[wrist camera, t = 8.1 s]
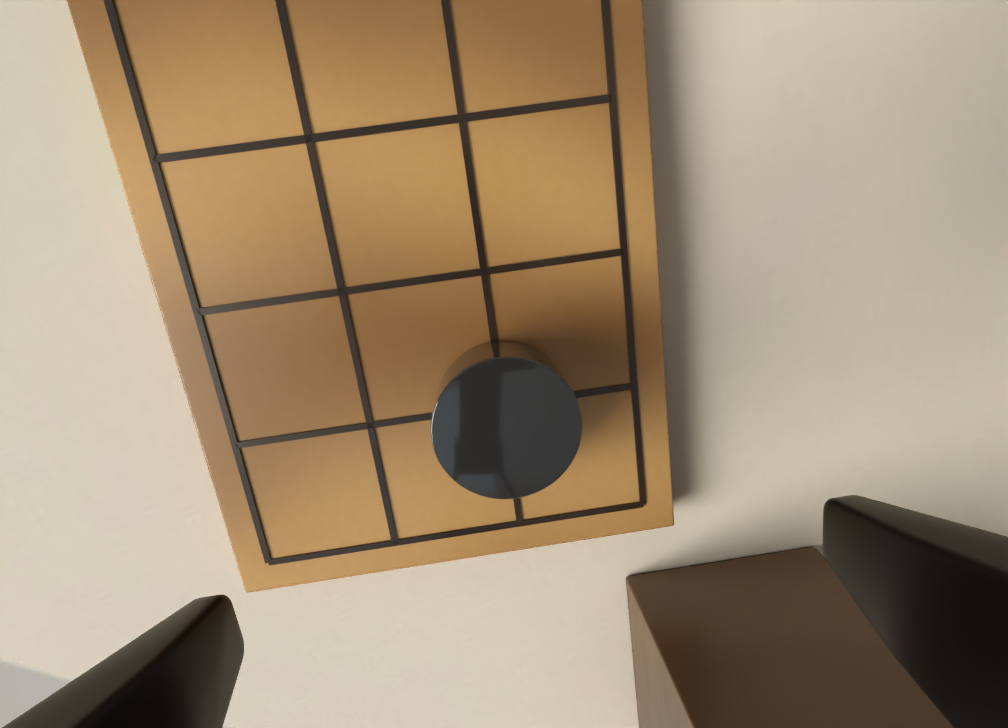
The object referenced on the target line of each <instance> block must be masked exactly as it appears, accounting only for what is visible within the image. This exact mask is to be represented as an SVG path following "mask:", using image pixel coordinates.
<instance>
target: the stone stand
mask: <svg viewBox="0 0 1008 728" xmlns="http://www.w3.org/2000/svg"><path fill="white" fill-rule="evenodd" d="M626 585H627V596H628V608H629V619H630V630H631V642H632V653H633V664H634V675H635V687H636V698H637V709H638V720H639V728H954V727H953V726H952V725H951V724H950V723H949V721H948V720H947V719H946V718H945V717H944V715H943V714H942V713H941V712H940V711H939V710H938V708H937V707H936V706H935V705H934V704H933V702H932V701H931V700H930V699H929V698H928V697H927V695H926V694H925V693H924V692H923V691H922V689H921V688H920V687H919V686H918V685H917V683H916V682H915V681H914V680H913V679H912V678H911V676H910V675H909V674H908V673H907V671H906V670H905V669H904V668H903V667H902V665H901V664H900V663H899V662H898V660H897V659H896V658H895V657H894V655H893V654H892V653H891V651H890V650H889V649H888V647H887V646H886V645H885V643H884V642H883V640H882V639H881V638H880V636H879V635H878V633H877V632H876V631H875V629H874V628H873V626H872V625H871V623H870V622H869V621H868V619H867V618H866V616H865V615H864V614H863V612H862V611H861V609H860V608H859V606H858V605H857V604H856V602H855V601H854V599H853V598H852V596H851V595H850V594H849V592H848V591H847V589H846V588H845V587H844V585H843V584H842V582H841V581H840V579H839V578H838V577H837V575H836V574H835V572H834V571H833V570H832V568H831V567H830V565H829V564H828V562H827V560H826V558H825V556H824V555H823V554H822V553H820V552H819V551H818V550H817V549H816V548H815V547H809V548H803V549H797V550H791V551H784V552H778V553H772V554H766V555H759V556H753V557H747V558H740V559H734V560H728V561H722V562H715V563H709V564H703V565H697V566H690V567H684V568H678V569H671V570H665V571H659V572H653V573H646V574H640V575H634V576H628V577H626Z"/></svg>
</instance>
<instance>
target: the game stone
mask: <svg viewBox="0 0 1008 728" xmlns="http://www.w3.org/2000/svg"><path fill="white" fill-rule="evenodd" d="M581 437H582V416H581V410H580V407H579V404H578V401H577V399H576V396H575V394H574V392H573V391H572V389H571V388H570V386H569V385H568V383H567V382H566V380H565V378H564V377H563V375H562V374H561V372H560V371H559V369H558V368H557V366H556V365H555V364H554V363H553V362H552V361H551V360H550V359H549V358H548V357H547V356H546V355H544V354H543V353H541V352H540V351H538V350H537V349H535V348H533V347H530V346H528V345H525V344H522V343H517V342H512V341H496V342H490V343H485V344H482V345H479V346H476V347H474V348H472V349H470V350H468V351H467V352H465V353H464V354H462V355H461V356H460V357H458V358H457V359H456V360H455V361H454V362H453V363H452V364H451V365H450V367H449V368H448V369H447V371H446V372H445V374H444V375H443V377H442V379H441V381H440V383H439V387H438V390H437V394H436V398H435V403H434V408H433V413H432V419H431V441H432V445H433V449H434V452H435V454H436V457H437V459H438V461H439V463H440V464H441V466H442V468H443V469H444V470H445V472H446V473H447V474H448V475H449V476H450V477H451V478H452V479H453V480H454V481H455V482H456V483H458V484H459V485H460V486H462V487H463V488H465V489H467V490H469V491H470V492H473V493H475V494H478V495H480V496H484V497H488V498H494V499H516V498H521V497H526V496H529V495H532V494H535V493H537V492H539V491H541V490H543V489H545V488H546V487H548V486H550V485H551V484H552V483H554V482H555V481H556V480H557V479H559V478H560V477H561V475H562V474H563V473H564V472H565V471H566V470H567V469H568V467H569V466H570V464H571V463H572V461H573V459H574V457H575V456H576V453H577V451H578V448H579V445H580V441H581Z"/></svg>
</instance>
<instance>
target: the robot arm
mask: <svg viewBox="0 0 1008 728" xmlns="http://www.w3.org/2000/svg"><path fill="white" fill-rule="evenodd" d="M823 551H824V555H825V558H826V560H827V562H828V564H829V565H830V567H831V568H832V570H833V571H834V572H835V574H836V575H837V577H838V578H839V579H840V581H841V582H842V584H843V585H844V587H845V588H846V589H847V591H848V592H849V594H850V595H851V596H852V598H853V599H854V601H855V602H856V604H857V605H858V606H859V608H860V609H861V611H862V612H863V614H864V615H865V616H866V618H867V619H868V621H869V622H870V623H871V625H872V626H873V628H874V629H875V631H876V632H877V633H878V635H879V636H880V638H881V639H882V640H883V642H884V643H885V645H886V646H887V647H888V649H889V650H890V651H891V653H892V654H893V655H894V657H895V658H896V659H897V660H898V662H899V663H900V664H901V665H902V667H903V668H904V669H905V670H906V671H907V673H908V674H909V675H910V676H911V678H912V679H913V680H914V681H915V682H916V683H917V685H918V686H919V687H920V688H921V689H922V691H923V692H924V693H925V694H926V695H927V697H928V698H929V699H930V700H931V701H932V702H933V704H934V705H935V706H936V707H937V708H938V710H939V711H940V712H941V713H942V714H943V715H944V717H945V718H946V719H947V720H948V721H949V723H950V724H951V725H952V726H953V727H954V728H1008V537H1007V536H1003V535H999V534H996V533H992V532H988V531H985V530H981V529H977V528H974V527H970V526H967V525H963V524H959V523H956V522H952V521H948V520H945V519H941V518H937V517H934V516H930V515H927V514H923V513H919V512H916V511H912V510H908V509H905V508H901V507H897V506H894V505H890V504H886V503H883V502H879V501H876V500H872V499H868V498H865V497H861V496H857V495H850V496H844V497H837V498H832V499H829V500H828V501H827V502H826V503H825V505H824V511H823ZM243 654H244V641H243V637H242V634H241V631H240V627H239V624H238V621H237V618H236V615H235V611H234V608H233V605H232V603H231V600H230V599H229V598H228V597H227V596H225V595H216V596H209V597H203V598H198V599H195V600H193V601H192V602H190V603H189V604H187V605H186V606H184V607H183V608H181V609H180V610H178V611H177V612H175V613H174V614H172V615H171V616H169V617H168V618H166V619H165V620H163V621H162V622H160V623H159V624H157V625H156V626H154V627H153V628H151V629H150V630H148V631H147V632H145V633H144V634H142V635H141V636H139V637H138V638H136V639H135V640H133V641H132V642H130V643H129V644H127V645H126V646H124V647H123V648H121V649H120V650H118V651H117V652H115V653H114V654H112V655H111V656H109V657H108V658H106V659H105V660H103V661H102V662H100V663H99V664H97V665H96V666H94V667H93V668H91V669H90V670H88V671H87V672H85V673H84V674H82V675H81V676H79V677H78V678H76V679H75V680H73V681H72V682H70V683H69V684H67V685H66V686H64V687H63V688H61V689H60V690H58V691H57V692H55V693H54V694H52V695H51V696H49V697H48V698H46V699H45V700H43V701H42V702H40V703H39V704H37V705H36V706H34V707H33V708H31V709H30V710H28V711H27V712H25V713H24V714H22V715H21V716H19V717H17V718H16V719H14V720H13V721H11V722H10V723H8V724H7V725H6V726H4V727H2V728H222V727H223V723H224V720H225V717H226V713H227V710H228V707H229V703H230V700H231V696H232V693H233V690H234V686H235V683H236V680H237V676H238V673H239V670H240V666H241V663H242V659H243Z"/></svg>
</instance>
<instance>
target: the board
mask: <svg viewBox="0 0 1008 728" xmlns="http://www.w3.org/2000/svg"><path fill="white" fill-rule="evenodd" d="M67 2H68V6H69V9H70V12H71V15H72V19H73V22H74V25H75V29H76V32H77V35H78V39H79V42H80V45H81V49H82V52H83V55H84V58H85V62H86V65H87V68H88V72H89V75H90V78H91V82H92V85H93V88H94V92H95V95H96V98H97V101H98V105H99V108H100V111H101V115H102V118H103V121H104V125H105V128H106V131H107V135H108V138H109V141H110V144H111V148H112V151H113V154H114V158H115V161H116V164H117V168H118V171H119V174H120V178H121V181H122V184H123V187H124V191H125V194H126V197H127V201H128V204H129V207H130V211H131V214H132V217H133V221H134V224H135V227H136V230H137V234H138V237H139V240H140V244H141V247H142V250H143V254H144V257H145V260H146V264H147V267H148V270H149V273H150V277H151V280H152V283H153V287H154V290H155V293H156V297H157V300H158V303H159V307H160V310H161V313H162V316H163V320H164V323H165V326H166V330H167V333H168V336H169V340H170V343H171V346H172V350H173V353H174V356H175V359H176V363H177V366H178V369H179V373H180V376H181V379H182V383H183V386H184V389H185V393H186V396H187V399H188V402H189V406H190V409H191V412H192V416H193V419H194V422H195V426H196V429H197V432H198V435H199V439H200V442H201V445H202V449H203V452H204V455H205V459H206V462H207V465H208V469H209V472H210V475H211V478H212V482H213V485H214V488H215V492H216V495H217V498H218V502H219V505H220V508H221V512H222V515H223V518H224V521H225V525H226V528H227V531H228V535H229V538H230V541H231V545H232V548H233V551H234V555H235V558H236V561H237V564H238V568H239V571H240V574H241V578H242V581H243V584H244V588H245V591H246V592H254V591H260V590H267V589H273V588H279V587H286V586H292V585H298V584H305V583H311V582H317V581H324V580H330V579H337V578H343V577H349V576H356V575H362V574H368V573H375V572H381V571H387V570H394V569H400V568H407V567H413V566H419V565H426V564H432V563H438V562H445V561H451V560H457V559H464V558H470V557H477V556H483V555H489V554H496V553H502V552H508V551H515V550H521V549H527V548H534V547H540V546H547V545H553V544H559V543H566V542H572V541H578V540H585V539H591V538H598V537H604V536H610V535H617V534H623V533H629V532H636V531H642V530H648V529H655V528H661V527H668V526H673V525H674V515H673V498H672V482H671V465H670V449H669V432H668V415H667V399H666V382H665V366H664V349H663V332H662V316H661V299H660V283H659V266H658V249H657V233H656V216H655V199H654V183H653V166H652V150H651V133H650V116H649V100H648V83H647V67H646V50H645V33H644V17H643V0H67ZM496 341H512V342H517V343H522V344H525V345H528V346H530V347H533V348H535V349H537V350H538V351H540V352H541V353H543V354H544V355H546V356H547V357H548V358H549V359H550V360H551V361H552V362H553V363H554V364H555V365H556V366H557V368H558V369H559V371H560V372H561V374H562V375H563V377H564V378H565V380H566V382H567V383H568V385H569V386H570V388H571V389H572V391H573V392H574V394H575V396H576V399H577V401H578V404H579V407H580V410H581V416H582V437H581V441H580V445H579V448H578V451H577V453H576V456H575V457H574V459H573V461H572V463H571V464H570V466H569V467H568V469H567V470H566V471H565V472H564V473H563V474H562V475H561V477H560V478H559V479H557V480H556V481H555V482H554V483H552V484H551V485H550V486H548V487H546V488H545V489H543V490H541V491H539V492H537V493H535V494H532V495H529V496H526V497H521V498H516V499H494V498H488V497H484V496H480V495H478V494H475V493H473V492H470V491H469V490H467V489H465V488H463V487H462V486H460V485H459V484H458V483H456V482H455V481H454V480H453V479H452V478H451V477H450V476H449V475H448V474H447V473H446V472H445V470H444V469H443V468H442V466H441V464H440V463H439V461H438V459H437V457H436V454H435V452H434V449H433V445H432V441H431V419H432V413H433V408H434V403H435V398H436V394H437V390H438V387H439V383H440V381H441V379H442V377H443V375H444V374H445V372H446V371H447V369H448V368H449V367H450V365H451V364H452V363H453V362H454V361H455V360H456V359H457V358H458V357H460V356H461V355H462V354H464V353H465V352H467V351H468V350H470V349H472V348H474V347H476V346H479V345H482V344H485V343H490V342H496Z"/></svg>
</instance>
